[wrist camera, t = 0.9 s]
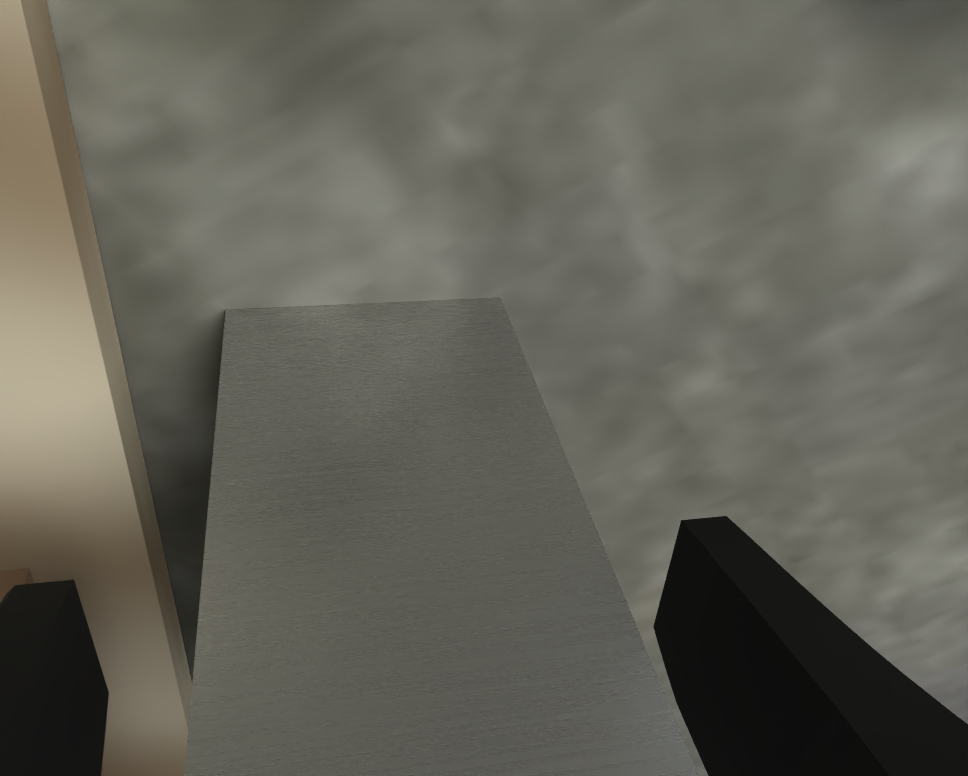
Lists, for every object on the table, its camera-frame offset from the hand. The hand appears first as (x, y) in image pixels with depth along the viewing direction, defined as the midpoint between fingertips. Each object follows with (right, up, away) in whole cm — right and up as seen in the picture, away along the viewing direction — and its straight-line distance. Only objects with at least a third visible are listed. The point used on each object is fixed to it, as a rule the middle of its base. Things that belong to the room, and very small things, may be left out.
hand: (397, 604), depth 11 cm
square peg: (-1, +2, +3) cm, 4 cm away
